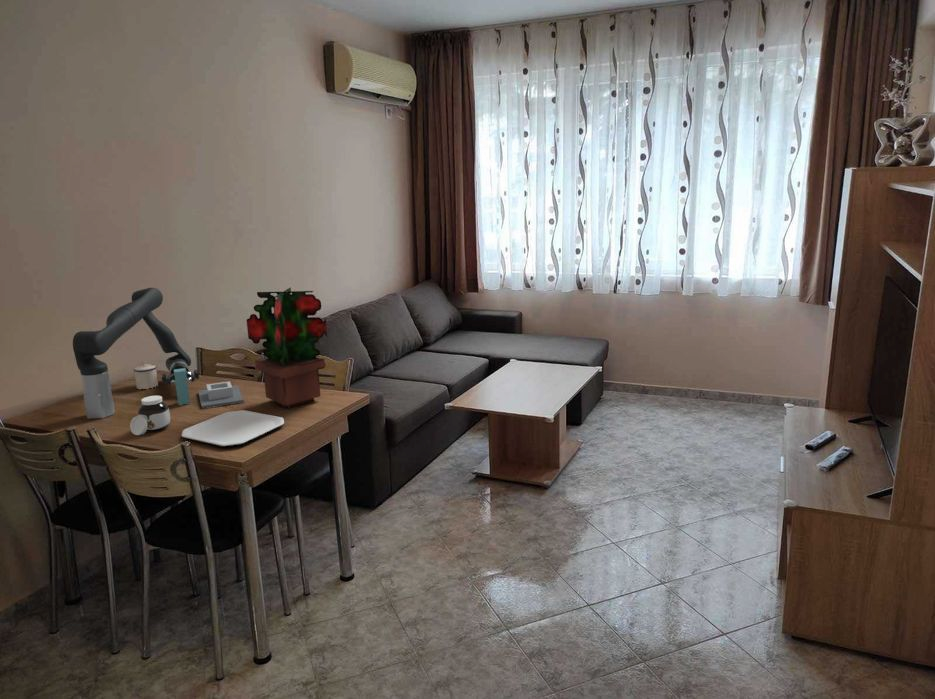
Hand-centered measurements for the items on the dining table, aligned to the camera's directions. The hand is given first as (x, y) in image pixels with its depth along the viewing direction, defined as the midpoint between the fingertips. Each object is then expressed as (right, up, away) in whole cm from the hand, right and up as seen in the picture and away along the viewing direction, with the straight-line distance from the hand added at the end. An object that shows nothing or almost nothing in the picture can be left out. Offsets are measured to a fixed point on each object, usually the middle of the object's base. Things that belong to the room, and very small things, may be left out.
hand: (181, 381), depth 274 cm
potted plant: (+47, -8, -3) cm, 48 cm away
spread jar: (+3, -17, -32) cm, 36 cm away
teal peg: (+2, -9, -2) cm, 9 cm away
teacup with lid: (-25, -4, +21) cm, 33 cm away
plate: (+34, -17, -34) cm, 51 cm away
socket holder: (+15, -7, +3) cm, 17 cm away
